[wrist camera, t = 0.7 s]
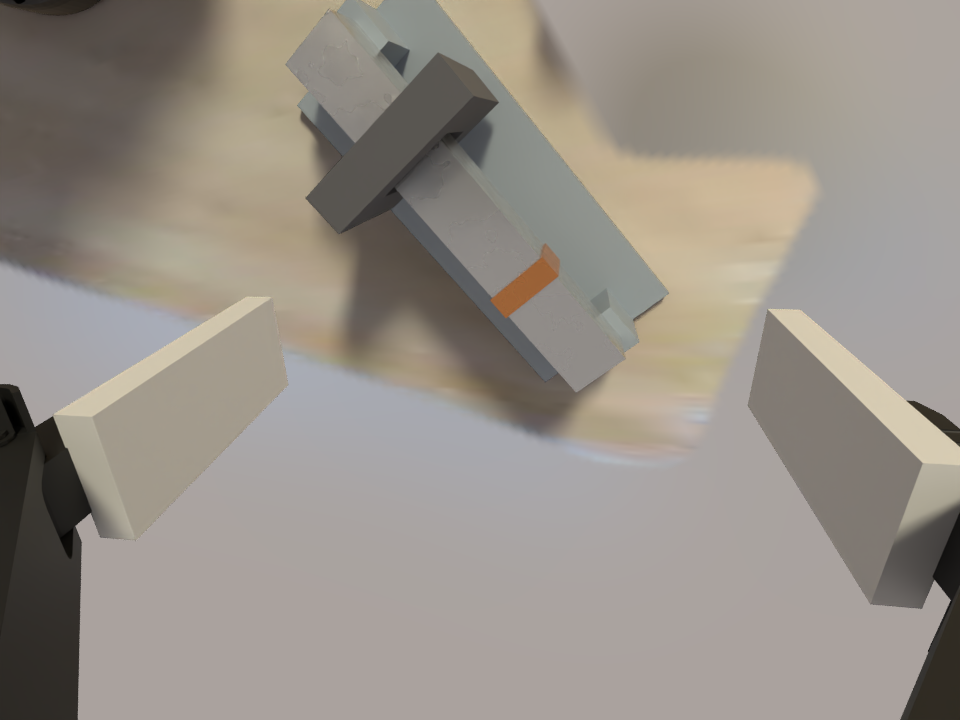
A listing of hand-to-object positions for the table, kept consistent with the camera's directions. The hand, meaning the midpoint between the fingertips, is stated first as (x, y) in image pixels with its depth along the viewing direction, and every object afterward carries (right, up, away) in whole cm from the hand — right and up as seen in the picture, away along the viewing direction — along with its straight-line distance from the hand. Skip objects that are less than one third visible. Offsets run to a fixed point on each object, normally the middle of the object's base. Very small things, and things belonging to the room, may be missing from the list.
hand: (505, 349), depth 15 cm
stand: (0, +11, +24) cm, 26 cm away
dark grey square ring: (-4, +14, +21) cm, 25 cm away
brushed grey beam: (-1, +9, +19) cm, 21 cm away
